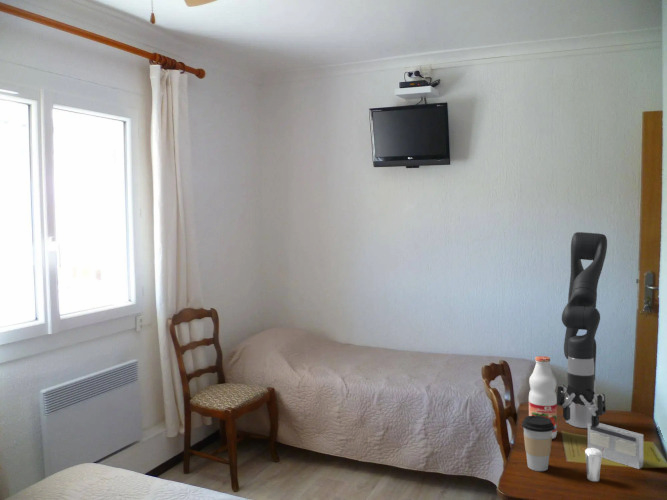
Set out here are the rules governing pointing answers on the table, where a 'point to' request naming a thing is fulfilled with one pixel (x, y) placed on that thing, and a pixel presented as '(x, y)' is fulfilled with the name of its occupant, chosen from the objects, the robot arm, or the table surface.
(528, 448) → the coffee cup
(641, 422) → the table surface
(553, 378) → the fruit juice
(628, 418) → the table surface
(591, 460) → the milkshake
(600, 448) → the panel
